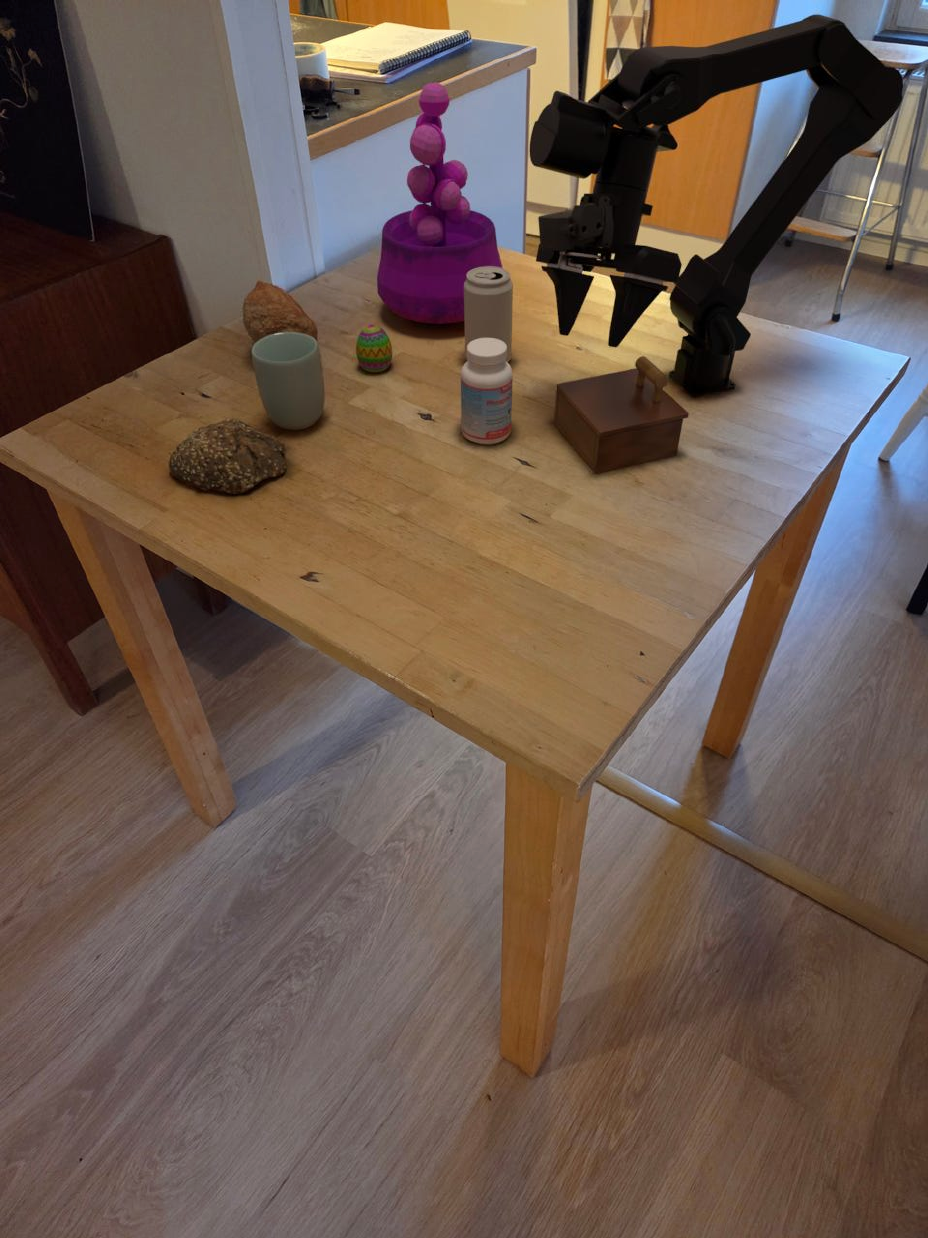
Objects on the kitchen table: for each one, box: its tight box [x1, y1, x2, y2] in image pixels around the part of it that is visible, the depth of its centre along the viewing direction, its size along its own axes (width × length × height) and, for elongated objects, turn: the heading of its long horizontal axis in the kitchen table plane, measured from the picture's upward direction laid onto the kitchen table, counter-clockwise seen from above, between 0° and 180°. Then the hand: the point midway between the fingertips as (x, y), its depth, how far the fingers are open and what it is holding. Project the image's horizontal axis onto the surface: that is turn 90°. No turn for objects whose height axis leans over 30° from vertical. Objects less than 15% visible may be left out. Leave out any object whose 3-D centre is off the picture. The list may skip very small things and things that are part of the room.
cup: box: [250, 332, 326, 431], centre depth 103 cm, size 8×8×10 cm
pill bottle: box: [460, 338, 514, 445], centre depth 100 cm, size 6×6×11 cm
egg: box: [355, 323, 393, 374], centre depth 114 cm, size 5×5×6 cm
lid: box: [555, 355, 690, 437], centre depth 98 cm, size 11×12×4 cm
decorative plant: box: [376, 82, 503, 325], centre depth 118 cm, size 19×18×30 cm
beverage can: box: [463, 266, 514, 363], centre depth 113 cm, size 6×6×12 cm
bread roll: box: [168, 417, 287, 495], centre depth 98 cm, size 13×12×5 cm
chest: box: [553, 388, 684, 474], centre depth 101 cm, size 11×12×5 cm
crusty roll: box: [242, 279, 318, 344], centre depth 115 cm, size 10×13×10 cm
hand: (587, 340), depth 96 cm, fingers open, 9 cm apart
